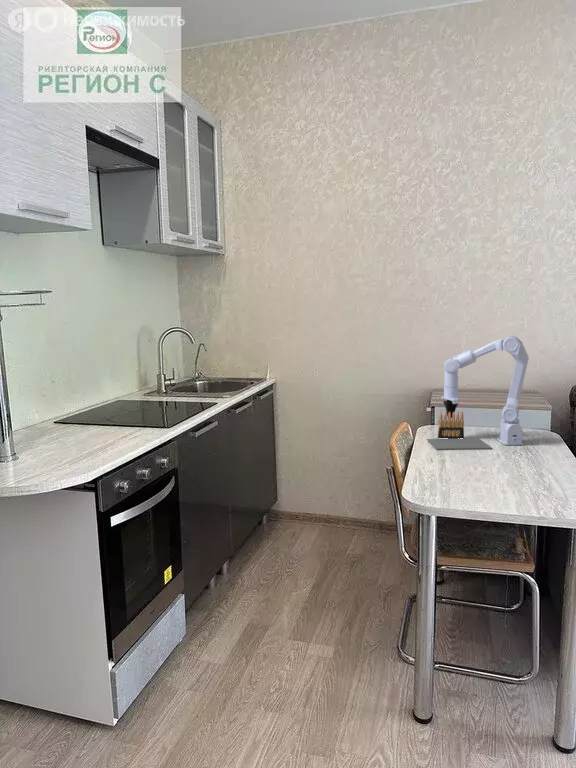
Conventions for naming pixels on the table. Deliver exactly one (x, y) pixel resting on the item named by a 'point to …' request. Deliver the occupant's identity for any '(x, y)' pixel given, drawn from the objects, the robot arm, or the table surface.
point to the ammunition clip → (451, 426)
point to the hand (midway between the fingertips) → (450, 417)
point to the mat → (458, 444)
